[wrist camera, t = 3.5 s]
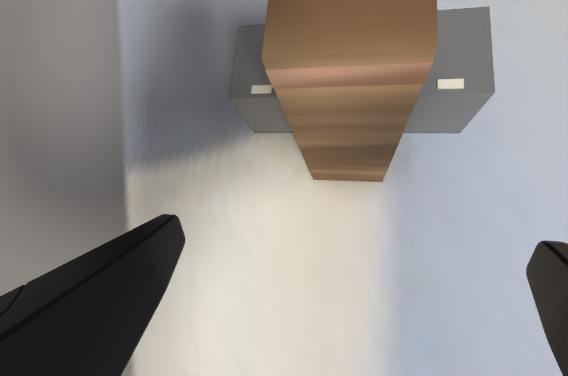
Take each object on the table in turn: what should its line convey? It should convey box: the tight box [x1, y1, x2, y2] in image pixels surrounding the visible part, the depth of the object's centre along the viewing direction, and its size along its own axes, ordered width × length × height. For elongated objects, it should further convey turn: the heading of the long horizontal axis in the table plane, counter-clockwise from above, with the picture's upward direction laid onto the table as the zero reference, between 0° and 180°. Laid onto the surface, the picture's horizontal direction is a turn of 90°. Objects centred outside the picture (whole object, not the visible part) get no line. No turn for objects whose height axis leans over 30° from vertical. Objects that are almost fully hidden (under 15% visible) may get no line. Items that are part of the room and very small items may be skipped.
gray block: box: [229, 7, 495, 133], centre depth 19 cm, size 5×14×5 cm, turn 85°
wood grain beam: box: [261, 0, 438, 182], centre depth 14 cm, size 3×4×13 cm, turn 85°
